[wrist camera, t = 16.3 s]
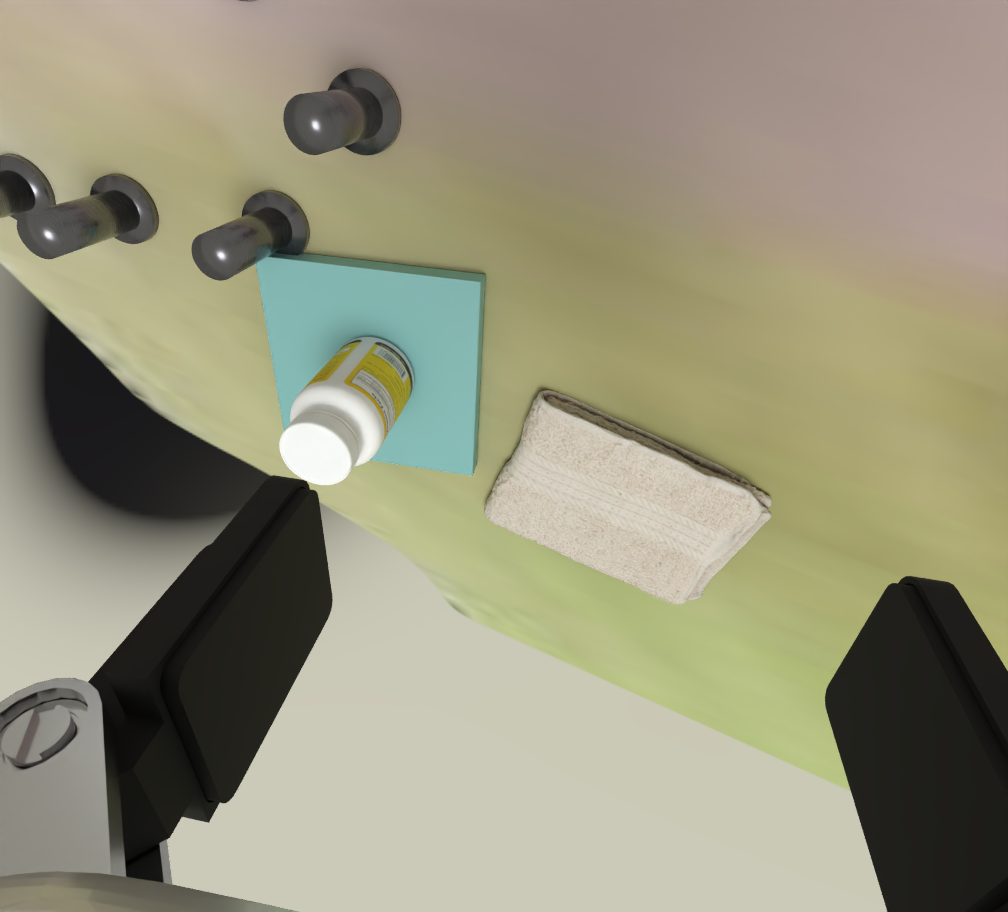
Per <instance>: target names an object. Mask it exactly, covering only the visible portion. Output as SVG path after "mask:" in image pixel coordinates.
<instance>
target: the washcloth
mask: <svg viewBox="0 0 1008 912" xmlns="http://www.w3.org/2000/svg"><path fill="white" fill-rule="evenodd" d="M521 434H522V436H521V440H520V442H519V445H518V446H517V448H516V450H515V451H514V453H513V455H512V458H511V459H510V461H508V462H507V463H506V464H505V466H504V467H503V469H502V471H501V472H500V475H499V476H498V478H497V480H496V481H495V483H494V487H493V488H492V493H491V494H490V495H489V498H488V499H487V503H486V504H485V506H484V513H485V515H486V517H487V518H488V519H490V520H491V521H492V523H493V524H495V525H500V526H502V527H503V528H506V529H507V530H508V531H512V532H513V533H515V534H519V535H520V536H523V537H524V538H526V539H531V540H535V541H537V544H541V545H544V546H545V547H548V548H550V549H553V550H555V551H557V552H558V553H561V554H562V555H565V556H567V557H569V558H570V559H573V560H574V561H576V562H580V563H583V564H585V565H587V566H589V567H590V568H592V569H597V570H598V571H601V572H602V573H603V574H608V575H610V576H612V577H615V578H618V579H621V580H622V581H623V582H626V583H628V584H630V585H633V586H637V587H639V589H641V590H643V591H645V592H647V593H650V594H651V595H654V596H655V597H657V598H659V599H664V600H666V601H667V602H669V603H670V604H671V603H675V604H683V603H684V602H685V601H686V600H694V599H697V598H699V597H700V596H701V595H702V594H703V593H702V592H703V590H704V587H705V585H706V584H707V583H708V582H709V581H710V580H711V578H712V577H713V576H714V575H715V574H716V573H717V572H718V571H719V570H720V569H721V568H722V567H723V566H724V565H725V564H726V563H727V562H728V561H729V560H730V559H731V558H732V557H733V556H734V555H735V554H736V552H737V551H739V549H740V548H742V547H743V546H744V545H745V544H746V543H747V542H748V541H749V539H750V538H751V537H752V536H753V535H754V534H755V533H756V532H757V530H758V529H759V528H760V527H761V526H762V525H763V524H764V523H765V522H766V521H768V520H769V519H770V517H771V515H772V514H771V512H770V511H768V508H769V507H770V506H771V504H772V499H771V498H770V497H769V496H768V495H766V494H764V493H763V492H762V491H758V490H756V487H752V486H751V484H750V483H749V482H748V481H747V480H746V479H744V478H740V477H738V476H737V475H736V474H735V473H731V472H730V471H729V470H727V469H726V468H724V467H722V466H720V465H717V464H716V463H713V462H711V461H709V460H707V459H705V458H703V457H700V456H698V455H696V454H694V453H691V452H689V451H687V450H685V449H683V448H680V447H678V446H677V445H674V444H672V443H670V442H668V441H666V440H663V439H661V438H659V437H656V436H655V435H652V434H650V433H648V432H646V431H643V430H641V429H639V428H637V427H634V426H632V425H630V424H627V423H625V422H623V421H621V420H618V419H616V418H613V417H611V416H609V415H607V414H605V413H603V412H600V411H598V410H596V409H594V408H592V407H590V406H588V405H586V404H583V403H582V402H579V401H577V400H575V399H573V398H571V397H568V396H566V395H564V394H560V393H558V392H555V391H550V390H545V391H541V392H539V394H538V396H537V398H536V399H535V400H534V401H533V403H532V407H531V409H530V412H529V415H528V416H527V418H526V421H525V423H524V427H523V432H522V433H521Z"/></svg>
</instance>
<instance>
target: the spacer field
mask: <svg viewBox="0 0 1008 912" xmlns="http://www.w3.org/2000/svg"><path fill="white" fill-rule="evenodd" d="M241 1H255V0H241ZM400 124H401V110H400V105H399V102H398V99H397V96H396V94H395V92H394V90H393V89H392V87H391V86H390V84H389V83H388V82H387V81H386V80H385V79H384V78H383V77H382V76H380V75H379V74H377V73H375V72H373V71H370V70H367V69H351V70H347V71H344V72H343V73H341V74H339V75H338V76H337V77H336V78H335V79H334V80H333V82H332V83H331V85H330V87H329V89H328V91H322V92H314V93H306V94H299V95H296V96H294V97H293V98H292V99H291V100H290V101H289V102H288V103H287V105H286V107H285V111H284V126H285V130H286V133H287V135H288V137H289V139H290V140H291V142H292V143H293V144H294V145H295V146H296V147H297V148H298V149H299V150H301V151H302V152H304V153H306V154H310V155H319V154H322V153H325V152H328V151H331V150H335V149H338V148H341V147H346V148H347V149H348V150H350V151H352V152H354V153H357V154H361V155H373V154H376V153H379V152H381V151H383V150H385V149H387V148H388V147H389V146H390V145H391V144H392V143H393V142H394V140H395V139H396V137H397V135H398V132H399V129H400ZM7 216H11V217H13V218H14V219H16V220H17V230H18V233H19V236H20V238H21V240H22V241H23V243H24V244H25V245H26V247H27V248H28V249H29V250H30V251H31V252H33V253H34V254H36V255H37V256H39V257H41V258H44V259H53V258H56V257H59V256H62V255H65V254H68V253H70V252H73V251H76V250H79V249H82V248H84V247H87V246H90V245H93V244H96V243H98V242H101V241H104V240H107V239H110V238H113V237H115V238H116V239H118V240H120V241H122V242H125V243H129V244H138V243H141V242H144V241H146V240H149V239H150V238H152V237H153V236H154V235H155V233H156V231H157V228H158V213H157V209H156V206H155V204H154V202H153V200H152V198H151V197H150V195H149V194H148V193H147V191H146V190H145V189H144V188H143V187H142V186H141V185H140V184H139V183H137V182H136V181H135V180H133V179H131V178H129V177H127V176H124V175H120V174H112V175H107V176H103V177H101V178H99V179H97V180H96V181H95V182H94V184H93V186H92V188H91V193H90V196H88V197H84V198H80V199H76V200H73V201H69V202H65V203H61V204H57V205H55V198H54V194H53V191H52V188H51V186H50V184H49V182H48V181H47V179H46V177H45V176H44V175H43V174H42V172H41V171H40V170H39V169H38V168H37V167H36V166H35V165H34V164H32V163H31V162H30V161H28V160H26V159H25V158H23V157H20V156H17V155H13V154H7V155H1V156H0V218H3V217H7ZM308 241H309V225H308V221H307V219H306V216H305V214H304V212H303V211H302V209H301V208H300V206H299V205H298V204H297V203H296V202H295V201H294V200H293V199H291V198H290V197H289V196H287V195H285V194H283V193H281V192H278V191H264V192H261V193H258V194H255V195H253V196H252V197H251V198H249V200H248V201H247V202H246V204H245V205H244V208H243V211H242V217H241V218H238V219H236V220H233V221H231V222H229V223H226V224H224V225H222V226H219V227H217V228H214V229H212V230H210V231H207V232H205V233H203V234H200V235H198V236H197V237H196V238H195V239H194V241H193V243H192V256H193V259H194V261H195V263H196V265H197V266H198V268H199V269H200V270H201V271H202V272H203V273H204V274H205V275H207V276H208V277H210V278H212V279H215V280H227V279H229V278H231V277H232V276H234V275H236V274H238V273H239V272H241V271H243V270H245V269H247V268H248V267H250V266H252V265H254V264H255V263H257V262H259V261H261V260H263V259H264V258H266V257H268V256H270V255H271V254H273V253H279V254H288V255H296V256H298V255H299V254H301V253H302V252H303V251H304V250H305V248H306V247H307V244H308Z"/></svg>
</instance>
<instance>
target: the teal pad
mask: <svg viewBox="0 0 1008 912" xmlns="http://www.w3.org/2000/svg"><path fill="white" fill-rule="evenodd" d="M256 267H257V273H258V279H259V285H260V291H261V297H262V303H263V309H264V315H265V321H266V327H267V333H268V339H269V345H270V351H271V357H272V363H273V369H274V375H275V381H276V387H277V393H278V399H279V405H280V410H281V416H282V422H283V428H284V431H285V429H286V428H287V427H288V426H289V424H290V423H291V422H290V412H291V407H292V404H293V402H294V400H295V399H296V397H297V396H298V394H299V393H300V392H301V391H302V390H303V389H304V387H305V386H306V385H307V384H308V383H309V382H310V381H311V380H312V379H313V378H314V377H315V376H316V374H317V373H318V372H319V371H320V370H321V369H322V368H323V367H324V366H325V365H326V364H327V363H328V362H329V361H330V359H331V358H332V357H333V356H334V355H335V354H336V353H337V352H338V351H339V350H340V349H341V348H342V347H343V346H344V345H345V344H346V343H348V342H349V341H351V340H353V339H356V338H360V337H374V338H379V339H382V340H385V341H387V342H389V343H391V344H392V345H394V346H395V347H397V348H398V349H399V350H400V351H401V352H402V353H403V354H404V355H405V357H406V358H407V360H408V361H409V363H410V365H411V368H412V371H413V376H414V386H413V391H412V393H411V396H410V398H409V400H408V402H407V404H406V405H405V407H404V408H403V410H402V412H401V414H400V415H399V417H398V419H397V420H396V422H395V424H394V425H393V427H392V429H391V430H390V432H389V434H388V435H387V437H386V439H385V440H384V442H383V444H382V445H381V447H380V449H379V450H378V451H377V453H376V454H375V455H374V456H373V457H372V458H371V459H370V460H372V461H379V462H385V463H392V464H398V465H405V466H411V467H418V468H425V469H431V470H438V471H444V472H451V473H457V474H464V475H470V476H473V473H474V470H475V467H476V465H477V447H478V425H479V404H480V382H481V360H482V339H483V317H484V295H485V274H477V273H468V272H460V271H451V270H443V269H434V268H426V267H417V266H409V265H400V264H392V263H383V262H375V261H366V260H357V259H349V258H340V257H332V256H323V255H315V254H306V253H301V254H299V255H298V256H296V255H288V254H279V253H273V254H271V255H270V256H268V257H266V258H264V259H263V260H261V261H259V262H257V263H256Z"/></svg>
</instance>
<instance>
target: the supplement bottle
mask: <svg viewBox="0 0 1008 912" xmlns="http://www.w3.org/2000/svg"><path fill="white" fill-rule="evenodd" d="M413 386H414V376H413V371H412V368H411V365H410V363H409V361H408V360H407V358H406V357H405V355H404V354H403V353H402V352H401V351H400V350H399V349H398V348H397V347H395V346H394V345H392V344H391V343H389V342H387V341H385V340H382V339H379V338H374V337H360V338H356V339H353V340H351V341H349V342H348V343H346V344H345V345H344V346H343V347H342V348H341V349H340V350H339V351H338V352H337V353H336V354H335V355H334V356H333V357H332V358H331V359H330V361H329V362H328V363H327V364H326V365H325V366H324V367H323V368H322V369H321V370H320V371H319V372H318V373H317V374H316V376H315V377H314V378H313V379H312V380H311V381H310V382H309V383H308V384H307V385H306V386H305V387H304V389H303V390H302V391H301V392H300V393H299V394H298V396H297V397H296V399H295V400H294V402H293V404H292V407H291V412H290V422H291V423H290V424H289V426H288V427H287V428H286V429H285V431H284V432H283V433H282V436H281V438H280V444H279V448H280V453H281V456H282V458H283V460H284V462H285V463H286V465H287V466H288V467H289V468H290V469H291V471H293V472H294V473H295V474H296V475H297V476H299V477H300V478H302V479H304V480H306V481H308V482H311V483H314V484H319V485H332V484H336V483H338V482H340V481H342V480H343V479H345V478H346V477H347V476H348V474H349V473H350V471H351V470H352V468H353V467H355V466H358V465H361V464H363V463H365V462H367V461H368V460H370V459H371V458H372V457H373V456H374V455H375V454H376V453H377V451H378V450H379V449H380V447H381V445H382V444H383V442H384V440H385V439H386V437H387V435H388V434H389V432H390V430H391V429H392V427H393V425H394V424H395V422H396V420H397V419H398V417H399V415H400V414H401V412H402V410H403V408H404V407H405V405H406V404H407V402H408V400H409V398H410V396H411V393H412V391H413Z"/></svg>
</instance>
